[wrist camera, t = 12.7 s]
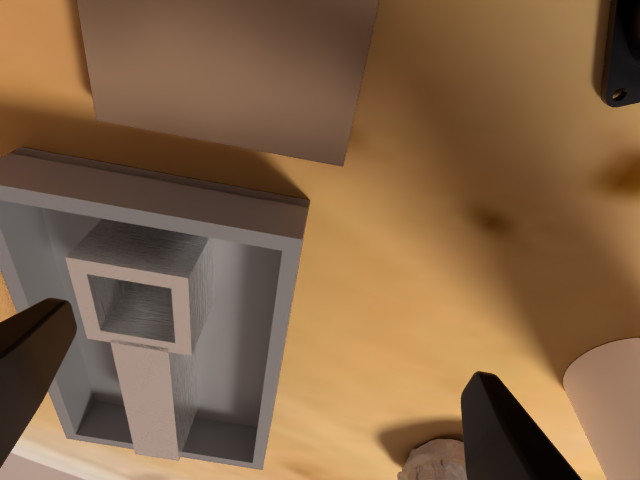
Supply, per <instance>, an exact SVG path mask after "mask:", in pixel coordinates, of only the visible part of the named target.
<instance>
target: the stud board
mask: <svg viewBox="0 0 640 480" xmlns="http://www.w3.org/2000/svg"><path fill="white" fill-rule="evenodd" d="M378 4H379V0H77V5H78V11H79V18H80V24H81V30H82V36H83V42H84V48H85V54H86V60H87V67H88V73H89V79H90V85H91V91H92V97H93V103H94V109H95V115H96V120H97V121H102V122H107V123H113V124H118V125H123V126H129V127H134V128H139V129H145V130H150V131H155V132H161V133H166V134H171V135H177V136H182V137H187V138H193V139H198V140H204V141H209V142H214V143H220V144H225V145H230V146H236V147H241V148H246V149H252V150H257V151H262V152H268V153H273V154H278V155H284V156H289V157H294V158H300V159H305V160H310V161H316V162H321V163H326V164H332V165H337V166H342V167H343V165H344V160H345V156H346V151H347V147H348V142H349V137H350V133H351V128H352V124H353V119H354V114H355V110H356V105H357V101H358V96H359V91H360V87H361V82H362V78H363V73H364V68H365V64H366V59H367V55H368V50H369V46H370V41H371V36H372V32H373V27H374V23H375V18H376V13H377V9H378Z"/></svg>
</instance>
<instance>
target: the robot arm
mask: <svg viewBox="0 0 640 480" xmlns="http://www.w3.org/2000/svg"><path fill="white" fill-rule="evenodd" d="M620 88H621V89H622V91H621V93H620V94H619V95H618V96H617V97H615V98H613V97H612V96H613V93H614V92H615V91H616V90H618V89H620ZM601 100H602V101H603V102H604V103H605V104H607V105H608V106H611V107H620V106H625V105H630V104H634V103H639V102H640V0H611V5H610V14H609V23H608V33H607V42H606V51H605V60H604V69H603V79H602V88H601ZM76 332H77V324H76V320H75V317H74V313H73V309H72V306H71V303H70V302H69V301H67V300H63V299H57V298H47V299H44V300H42V301H40V302H38V303H36V304H34V305H33V306H31V307H29V308H27V309H25V310H23V311H21V312H19V313H17V314H15V315H14V316H12V317H10V318H8V319H6V320H4V321H2V322H0V468H1V466H2V465H3V463H4V462H5V460H6V458H7V457H8V455H9V454H10V452H11V451H12V449H13V447H14V446H15V444H16V443H17V441H18V440H19V438H20V436H21V435H22V433H23V432H24V430H25V428H26V427H27V425H28V424H29V422H30V421H31V419H32V417H33V416H34V414H35V413H36V411H37V409H38V408H39V406H40V404H41V403H42V401H43V399H44V397H45V395H46V394H47V392H48V390H49V388H50V386H51V384H52V382H53V380H54V378H55V376H56V374H57V372H58V370H59V368H60V366H61V364H62V362H63V360H64V358H65V356H66V354H67V352H68V350H69V348H70V346H71V344H72V342H73V340H74V338H75V335H76ZM461 412H462V427H463V442H464V456H465V468H466V476H467V480H582V479H581V478H580V476H579V475H578V474H577V473H576V472H575V470H574V469H573V468H572V467H571V465H570V464H569V463H568V462H567V461H566V459H565V458H564V457H563V456H562V454H561V453H560V452H559V451H558V450H557V448H556V447H555V446H554V445H553V443H552V442H551V441H550V440H549V439H548V437H547V436H546V435H545V434H544V432H543V431H542V430H541V429H540V428H539V426H538V425H537V424H536V423H535V422H534V420H533V419H532V418H531V417H530V415H529V414H528V413H527V412H526V411H525V409H524V408H523V407H522V406H521V404H520V403H519V402H518V401H517V400H516V398H515V397H514V396H513V395H512V393H511V392H510V391H509V390H508V389H507V387H506V386H505V385H504V384H503V382H502V381H501V380H500V379H499V378H498V377H497V376H496V375H495V374H492V373H487V372H481V371H477V372H476V373H474V374H473V376H472V378H471V379H470V381H469V382H468V384H467V385H466V387H465V389H464V390H463V392H462V395H461Z"/></svg>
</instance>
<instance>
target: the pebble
mask: <svg viewBox="0 0 640 480" xmlns="http://www.w3.org/2000/svg"><path fill="white" fill-rule="evenodd" d="M397 477H398V480H467V476H466V468H465V456H464V442H460V441H457V440H453V439H435V440H432V441H429V442H428V443H426V444H424V445H422V446H420V447H419V448H415V449H412V450H411V453H410V456H409V457H408V459H407V460H406V463H405V465H404V467H403V469H402V472H399V473H398V475H397Z"/></svg>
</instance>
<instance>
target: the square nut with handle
mask: <svg viewBox="0 0 640 480" xmlns="http://www.w3.org/2000/svg"><path fill="white" fill-rule="evenodd" d="M65 259H66V262H67V266H68V270H69V274H70V277H71V281H72V285H73V288H74V292H75V296H76V299H77V303H78V307H79V310H80V314H81V318H82V321H83V325H84V329H85V333H86V336H87V339H93V340H99V341H105V342H111V347H112V351H113V356H114V361H115V365H116V370H117V374H118V379H119V383H120V388H121V392H122V397H123V401H124V406H125V410H126V415H127V419H128V424H129V428H130V433H131V437H132V442H133V446H134V451H135V454H138V455H144V456H151V457H157V458H164V459H170V460H176V461H179V459H180V457H181V454H182V451H183V448H184V445H185V442H186V440H187V437H188V434H189V431H190V428H191V425H192V423H193V420H194V417H195V414H196V411H197V408H198V398H197V368H196V344H197V342H198V339H199V337H200V334H201V332H202V330H203V327H204V325H205V322H206V320H207V318H208V315H209V313H210V310H211V308H212V306H213V303H214V238H208V237H203V236H197V235H191V234H186V233H180V232H175V231H169V230H164V229H158V228H152V227H147V226H141V225H136V224H130V223H124V222H119V221H113V220H108V219H102V220H101V221H100V222H99V223H98V224H97V225H96V226H95V227H94V228H93V229H92V230H91V231H90V232H89V233H88V234H87V235H86V236H85V237H84V238H83V239H82V240H81V241H80V242H79V243H78V244H77V245H76V246H75V247H74V249H73V250H72V251H71V252H70V253H69V254H68V255H67V256H66V257H65Z"/></svg>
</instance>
